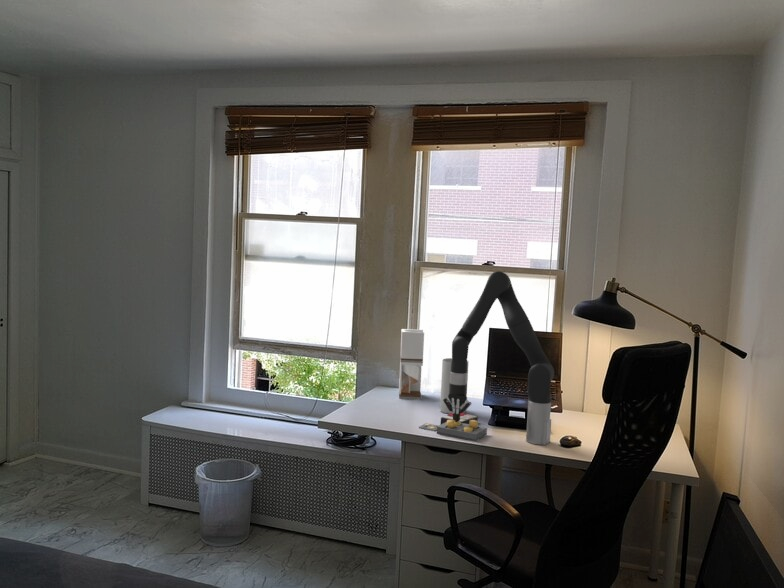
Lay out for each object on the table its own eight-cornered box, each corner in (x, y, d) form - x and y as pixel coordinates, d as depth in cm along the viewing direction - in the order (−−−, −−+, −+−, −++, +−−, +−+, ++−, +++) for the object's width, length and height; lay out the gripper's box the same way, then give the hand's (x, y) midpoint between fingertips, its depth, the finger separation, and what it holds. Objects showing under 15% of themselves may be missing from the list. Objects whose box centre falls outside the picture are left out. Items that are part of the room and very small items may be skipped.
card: (442, 427, 287) (442, 425, 287) (435, 431, 281) (435, 429, 281) (426, 424, 291) (426, 422, 291) (418, 427, 285) (418, 426, 285)
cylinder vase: (470, 414, 312) (473, 362, 310) (447, 415, 307) (449, 363, 305) (458, 407, 324) (460, 357, 322) (435, 408, 319) (438, 358, 317)
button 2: (461, 428, 283) (461, 421, 283) (458, 430, 280) (458, 423, 280) (454, 426, 285) (454, 420, 285) (450, 428, 282) (450, 421, 282)
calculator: (478, 415, 297) (462, 420, 285) (477, 425, 297) (461, 430, 285) (457, 411, 303) (440, 415, 291) (456, 420, 304) (439, 425, 291)
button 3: (473, 434, 275) (473, 427, 274) (470, 436, 271) (470, 429, 271) (465, 433, 276) (466, 426, 276) (462, 435, 273) (462, 428, 273)
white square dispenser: (399, 398, 337) (402, 331, 334) (398, 393, 347) (401, 328, 345) (421, 399, 337) (424, 332, 334) (420, 394, 348) (423, 329, 345)
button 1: (456, 427, 278) (456, 420, 278) (452, 429, 275) (453, 422, 275) (448, 426, 280) (449, 419, 280) (445, 427, 277) (445, 420, 277)
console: (486, 434, 279) (487, 427, 279) (475, 441, 269) (476, 434, 268) (448, 427, 288) (449, 420, 288) (436, 433, 278) (436, 426, 277)
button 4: (478, 427, 279) (479, 421, 279) (475, 429, 276) (475, 422, 276) (471, 426, 281) (471, 419, 281) (467, 428, 278) (468, 421, 278)
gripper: (475, 383, 281) (473, 422, 283) (448, 378, 288) (446, 417, 289) (468, 386, 275) (466, 426, 276) (440, 381, 281) (438, 420, 283)
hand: (456, 421), depth 283 cm, fingers closed
